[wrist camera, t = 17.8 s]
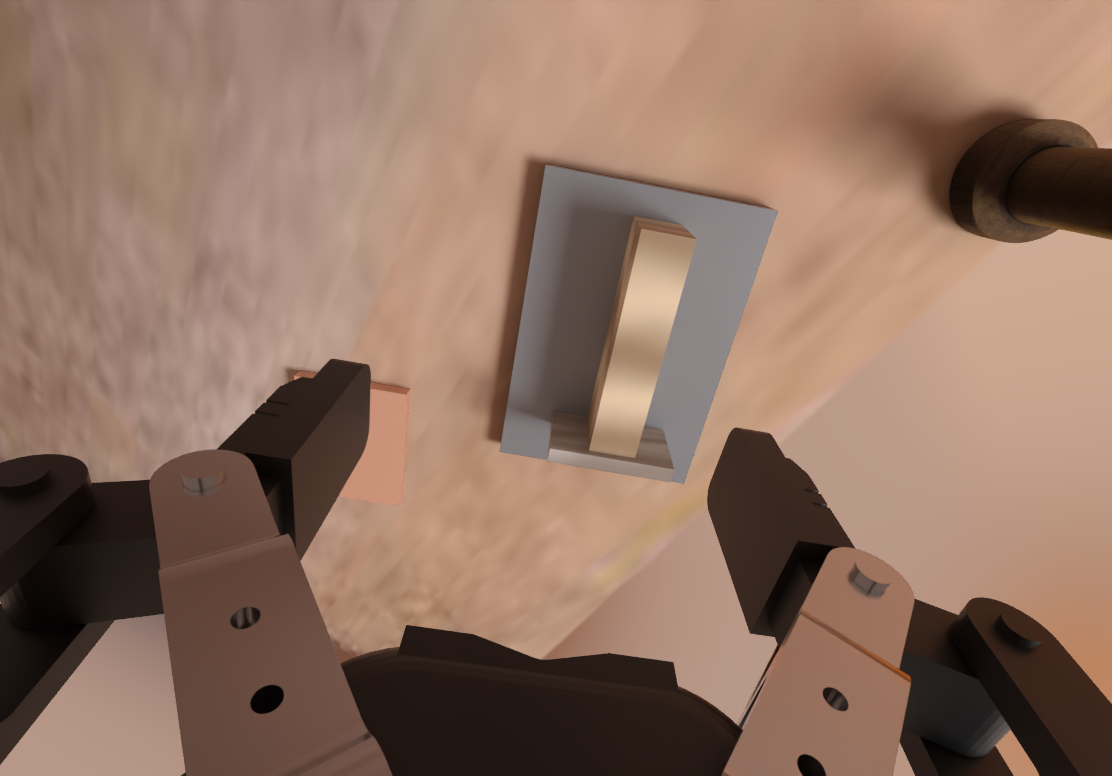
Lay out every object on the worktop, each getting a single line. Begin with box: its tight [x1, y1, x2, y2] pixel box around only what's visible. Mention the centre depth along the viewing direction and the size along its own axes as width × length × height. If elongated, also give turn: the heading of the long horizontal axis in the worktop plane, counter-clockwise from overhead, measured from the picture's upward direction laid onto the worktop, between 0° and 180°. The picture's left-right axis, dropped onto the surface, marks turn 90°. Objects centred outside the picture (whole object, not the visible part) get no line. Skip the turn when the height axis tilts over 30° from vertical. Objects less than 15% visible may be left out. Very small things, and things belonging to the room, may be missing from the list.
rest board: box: [500, 164, 778, 484], centre depth 37 cm, size 20×14×1 cm
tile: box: [294, 371, 410, 506], centre depth 42 cm, size 1×8×10 cm
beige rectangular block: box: [547, 216, 697, 482], centre depth 34 cm, size 15×8×5 cm, turn 170°
